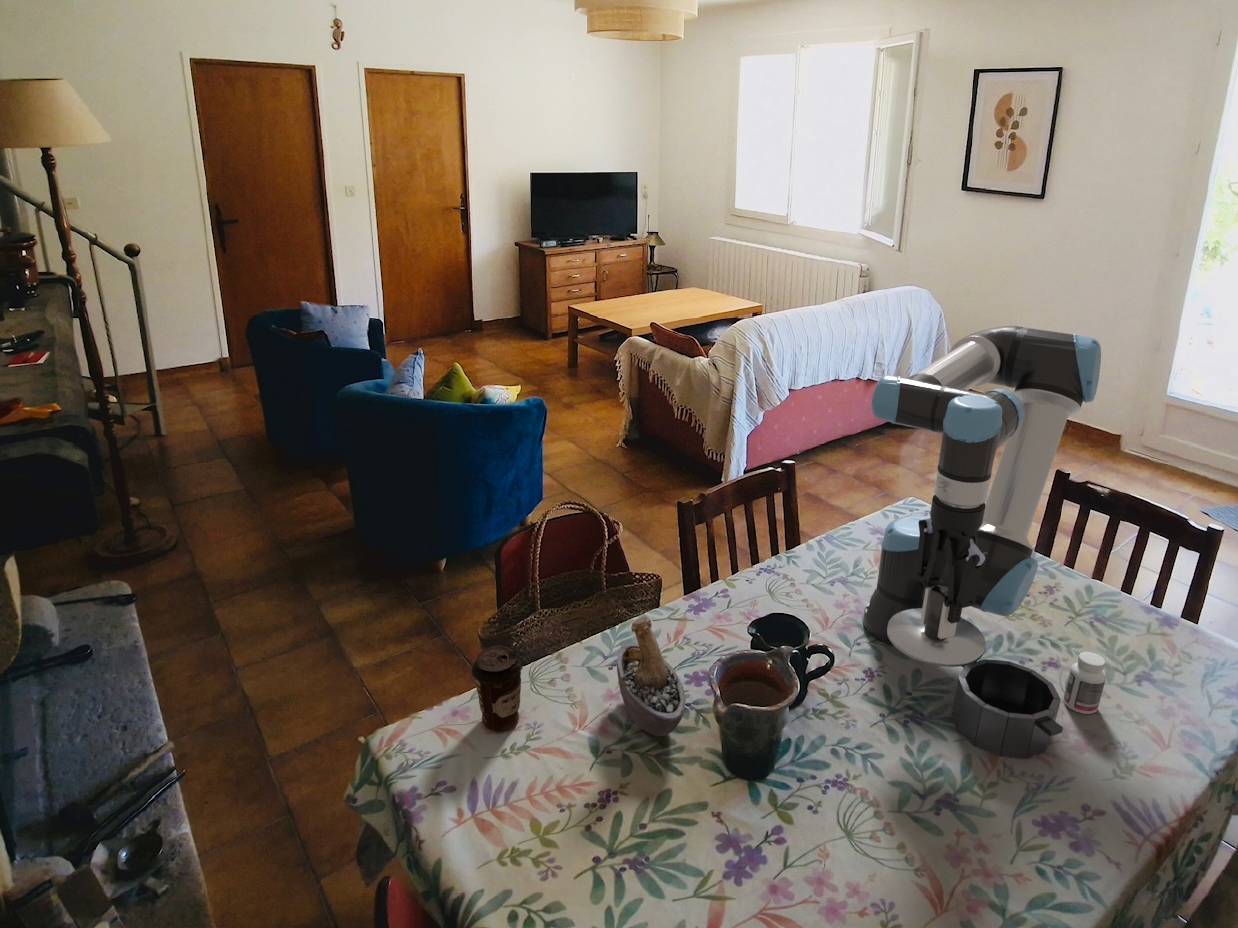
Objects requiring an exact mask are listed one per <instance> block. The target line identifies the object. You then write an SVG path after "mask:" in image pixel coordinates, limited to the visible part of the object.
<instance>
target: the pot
mask: <svg viewBox="0 0 1238 928" xmlns="http://www.w3.org/2000/svg"><path fill="white" fill-rule="evenodd" d="M961 667H962V668H963V669H962V670H961V671H960V674H958V677H957V682H956V689H955V694H954V698H953V704H952V710H951V718H952V721H953V725H954V727H955V730H956V732H958V733H959V734H960V735H961V736H962V737H963V738H965V739H966V741H968V742H969V743H970V744H971V745H972V746H974V747H976V748H978V749H980V750H983V751H986V752H988V753H990V754H992V755H995V756H997V757H1001V758H1009V759H1011V758H1012V759H1022V760H1026V759H1027V760H1028V759H1030V758H1033V757H1035V756H1038V755H1039V756H1040V755H1041V754H1044V753H1046V751H1047V748H1048V747H1049V745H1050V742H1051V740H1052V737H1053V736H1056V735H1059V734H1062V733H1063V730H1064V727H1063V726H1062V725H1060V724H1059V723H1058V722H1057V720H1056V719H1057V717H1058V713H1059V709H1060V705H1061V697H1060V696H1059V695H1060V694H1059V693H1058V691H1057V689H1056V687H1055V686H1054V684H1053V683H1052V682H1051V681H1049V680H1048V679H1047V678H1045V677H1044V676H1043V675H1041V674H1040V673H1038V672H1037V671H1036V670H1034V669H1032V668H1030V667H1027V666H1025V665H1021V664H1017V663H1016V662H1012V661H1009V660H1000V659H999V660H998V659H985V658H984V659H979V660H977V661H976V662H974V663H972V664H969V665H965V666H961Z"/></svg>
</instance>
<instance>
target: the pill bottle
mask: <svg viewBox="0 0 1238 928" xmlns="http://www.w3.org/2000/svg"><path fill="white" fill-rule="evenodd" d="M1105 665H1106V660H1105V659H1104V657H1102V656H1101V655H1100V654H1098V653H1095V652H1091V651H1083V652H1081V653H1079V655H1078V658H1077V661H1076V662H1074V663H1073V664H1072V665H1071V667H1070V669H1069V673H1068V674H1069V675H1068V678H1067V681H1066V687H1065V691H1064V695H1063V703H1064V704H1065V705H1066V706H1067V708H1069V709H1070V710H1072V711H1074V712H1077V713H1079V714H1084V715H1089V714H1094V713H1096V712H1097V711H1098V709H1099V706H1100V702H1101V698H1102V694H1103V691H1104V686H1105V683H1106V681H1107V680H1106V679H1107V675H1106V672H1105Z"/></svg>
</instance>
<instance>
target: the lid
mask: <svg viewBox="0 0 1238 928" xmlns="http://www.w3.org/2000/svg"><path fill="white" fill-rule="evenodd" d="M945 601H948V587H945V586H935V587H932V588H931V593H930V599H929V605H928V611H927V618H926V624H924V625H923V624H922V623H921V622H920V621H921V615H922V608H917V609H909V610H905V611H901V612H899V613H897V614H895V615H894V616H893V617H892V618H891V619H890V620H889V623H888V627H887V634H888V637H889V639H890V641H891V642H892V644H893V645H892V646H893V647H895V648H896V649H897V650H898V651H900V653H902V654H904V655H906V656H907V657H910V658H911V659H914V660H915V661H918V662H922V663H924V664H929V665H932V666H936V667H945V668H946V667H947V668H951V667H953V668H955V667H956V668H957V667H962V666H965V665H969V664H972V663H974V662H976V661H980V660H981V658H982V657H983V655H984V654H985V652H986V651H985V650H986V643H987V642H986V638H985V637H984V634H983V633H982V632H981V630H980V629H979V628H978V627H976V625H974V623H972V622H970V621H969V620H966V619H965V618H964V617H962V616H961V617H960V621H959V622H957V625H956V631H955V636H952V637H947V638H943V639H940V638H939V637H938V631H939V625H940V619H941V613H942V607H943V602H945Z"/></svg>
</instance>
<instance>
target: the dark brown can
mask: <svg viewBox="0 0 1238 928" xmlns="http://www.w3.org/2000/svg"><path fill="white" fill-rule="evenodd" d="M520 656H521V655H520V653H518V652H517V651H516V650H514V649H512V648H510V647H508V646H506V645H505V646H504V645H501V644H500V645H493V646H490V647H487V648H485V649H483V650H482V651H480V653H479V654H478V655H477V657H476V659H475V661H474V662H473V665H472V668H471V675H472V677H473V679H474V680H475V683H476V691H477V696H478V702H479V703H478V704H479V708H480V712H481V713H482V714H481V722H482V724H483V727H484V728H485V729H486V730H488V731H489V732H492V733H496V734H497V733H505V732H508V731H510V730H512V729H513V728H515V727H516V726H517V725H518V723H519V721H520V714H519V709H520V707H521V705H520V704H521V691H522V678H521V675H522V673H521V672H522V670H523V668H524V667H523V666H522V664H523V663H522V662H521V660H520V659H519V658H520Z"/></svg>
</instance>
